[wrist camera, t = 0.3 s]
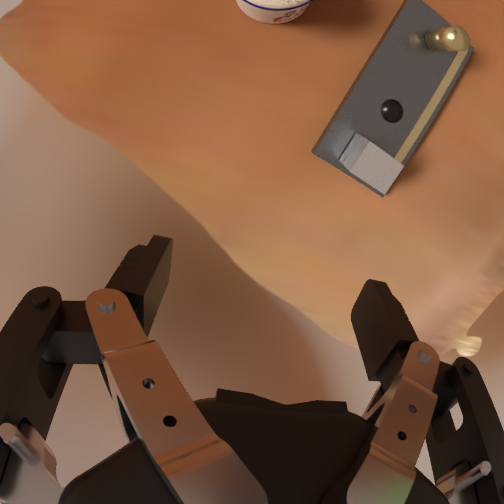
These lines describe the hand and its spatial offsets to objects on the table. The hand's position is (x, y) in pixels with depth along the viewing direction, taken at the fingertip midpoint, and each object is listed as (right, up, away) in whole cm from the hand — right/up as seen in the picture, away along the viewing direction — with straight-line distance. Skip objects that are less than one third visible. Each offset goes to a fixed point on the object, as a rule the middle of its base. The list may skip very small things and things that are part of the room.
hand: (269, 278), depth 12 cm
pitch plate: (+17, +21, +19) cm, 33 cm away
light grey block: (+13, +12, +23) cm, 29 cm away
